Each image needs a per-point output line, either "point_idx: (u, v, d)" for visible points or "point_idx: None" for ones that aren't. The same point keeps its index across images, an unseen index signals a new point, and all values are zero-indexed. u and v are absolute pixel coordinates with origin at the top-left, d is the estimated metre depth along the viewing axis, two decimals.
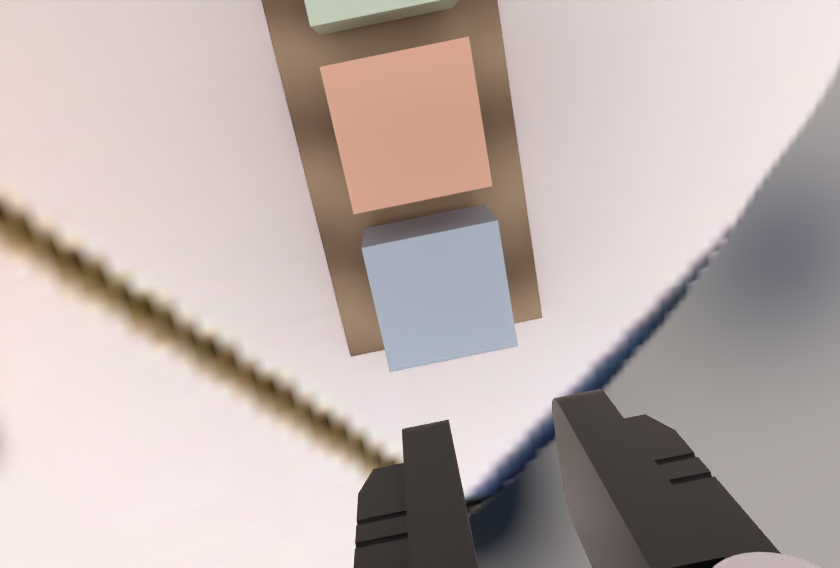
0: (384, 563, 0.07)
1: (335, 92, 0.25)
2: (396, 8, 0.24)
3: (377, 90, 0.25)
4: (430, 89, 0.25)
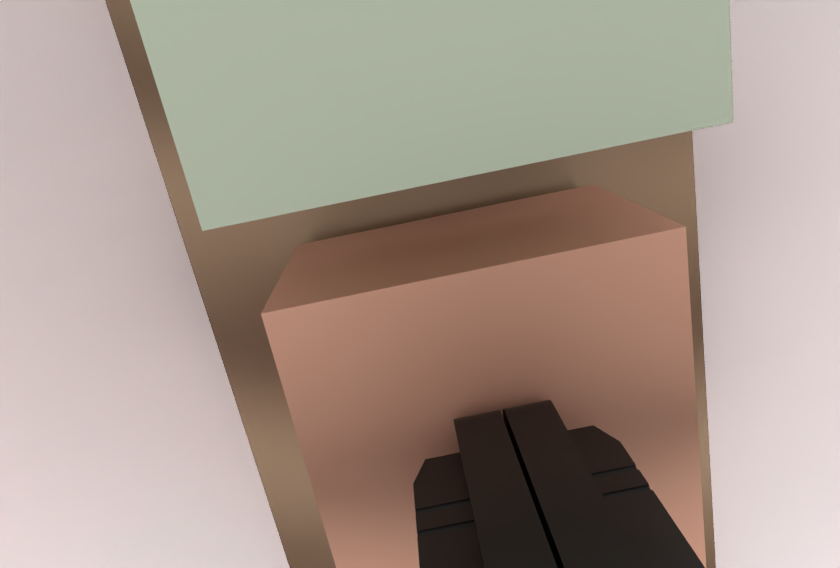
0: (449, 551, 0.07)
1: (307, 375, 0.09)
2: (502, 166, 0.07)
3: (422, 368, 0.09)
4: (567, 362, 0.09)
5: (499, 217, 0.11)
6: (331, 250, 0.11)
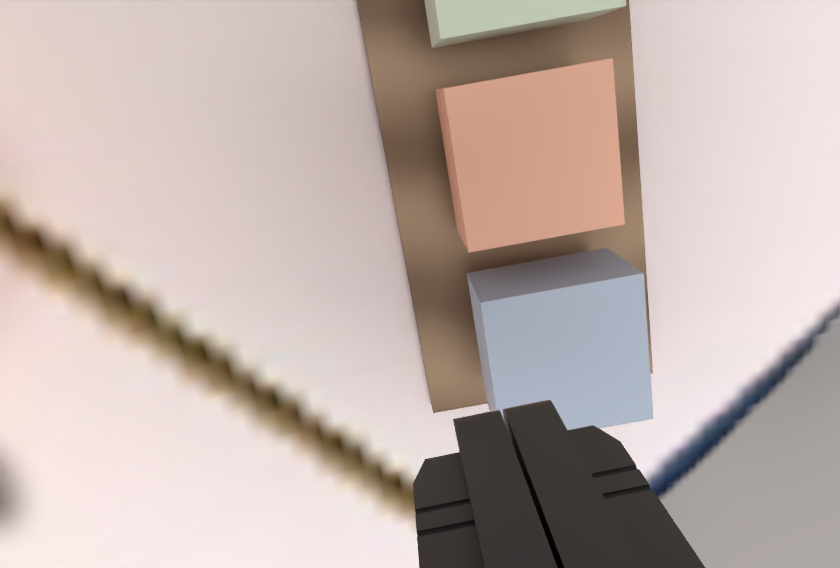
0: (449, 551, 0.07)
1: (459, 117, 0.22)
2: (545, 19, 0.20)
3: (505, 116, 0.22)
4: (564, 116, 0.22)
5: None
6: None
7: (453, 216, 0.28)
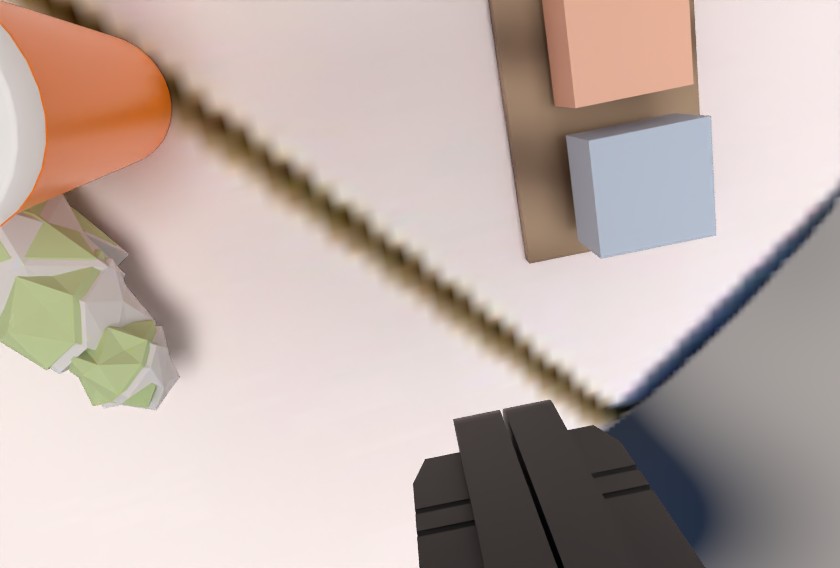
0: (449, 551, 0.07)
1: (571, 0, 0.29)
2: None
3: None
4: None
5: None
6: None
7: (550, 96, 0.35)
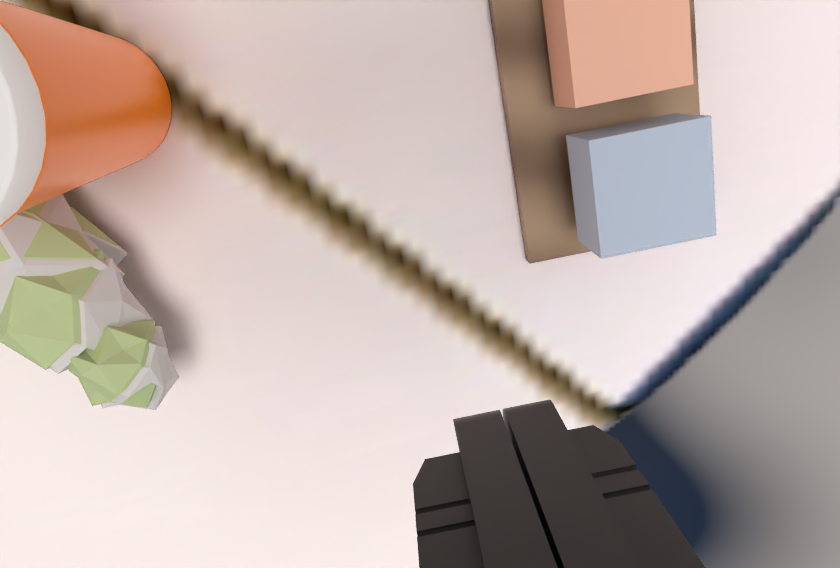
0: (449, 551, 0.07)
1: (571, 0, 0.29)
2: None
3: None
4: None
5: None
6: None
7: (550, 96, 0.35)
